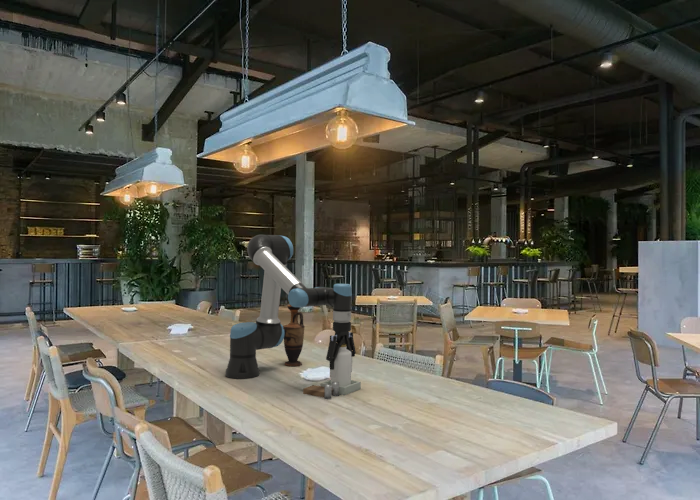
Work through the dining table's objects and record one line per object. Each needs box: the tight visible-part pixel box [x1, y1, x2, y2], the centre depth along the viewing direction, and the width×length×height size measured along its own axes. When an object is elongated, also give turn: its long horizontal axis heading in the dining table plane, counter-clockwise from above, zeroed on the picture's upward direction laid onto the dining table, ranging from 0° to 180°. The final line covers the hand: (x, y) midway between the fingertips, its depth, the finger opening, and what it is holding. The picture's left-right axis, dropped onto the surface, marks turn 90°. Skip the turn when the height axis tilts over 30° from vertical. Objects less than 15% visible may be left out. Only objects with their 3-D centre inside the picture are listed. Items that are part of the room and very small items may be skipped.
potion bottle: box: [330, 344, 352, 387], centre depth 206 cm, size 8×8×18 cm
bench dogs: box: [323, 382, 340, 400], centre depth 196 cm, size 3×8×5 cm, turn 147°
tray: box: [320, 379, 362, 396], centre depth 206 cm, size 12×12×3 cm
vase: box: [282, 304, 306, 367], centre depth 252 cm, size 11×11×30 cm
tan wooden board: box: [302, 384, 325, 399], centre depth 200 cm, size 10×7×2 cm
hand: (341, 374), depth 206 cm, fingers open, 11 cm apart
